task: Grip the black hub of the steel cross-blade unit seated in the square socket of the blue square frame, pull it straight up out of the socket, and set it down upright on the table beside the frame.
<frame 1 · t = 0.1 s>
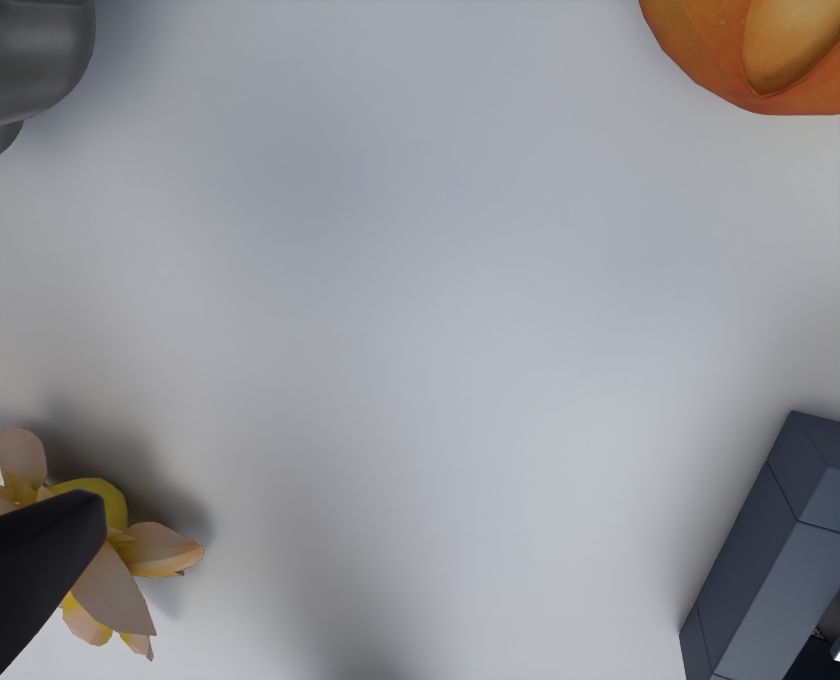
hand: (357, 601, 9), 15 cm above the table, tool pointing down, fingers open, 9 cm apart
decorative flower: (102, 505, 33), on the table
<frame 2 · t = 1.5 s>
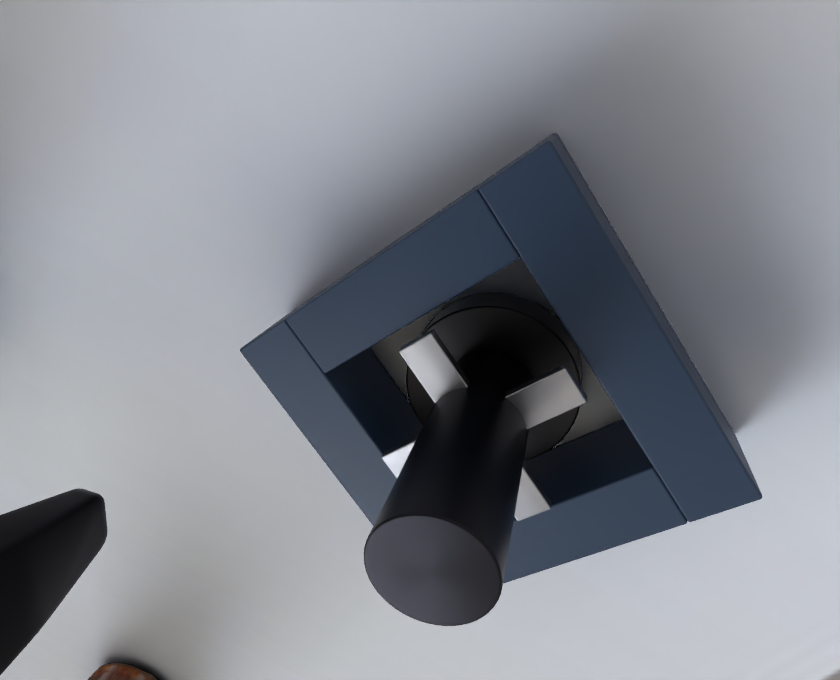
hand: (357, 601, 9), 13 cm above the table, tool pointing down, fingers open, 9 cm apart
blue square frame: (496, 371, 21), on the table
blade: (472, 444, 17), in the blue square frame
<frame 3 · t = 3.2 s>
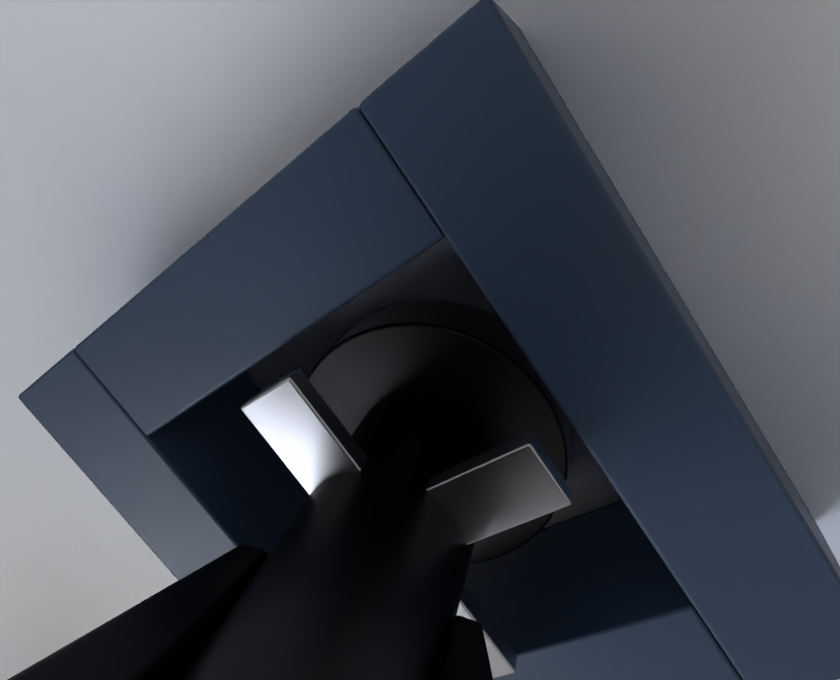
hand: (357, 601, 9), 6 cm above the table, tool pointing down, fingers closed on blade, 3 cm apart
blue square frame: (439, 420, 14), on the table
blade: (368, 575, 9), in the blue square frame, touching gripper
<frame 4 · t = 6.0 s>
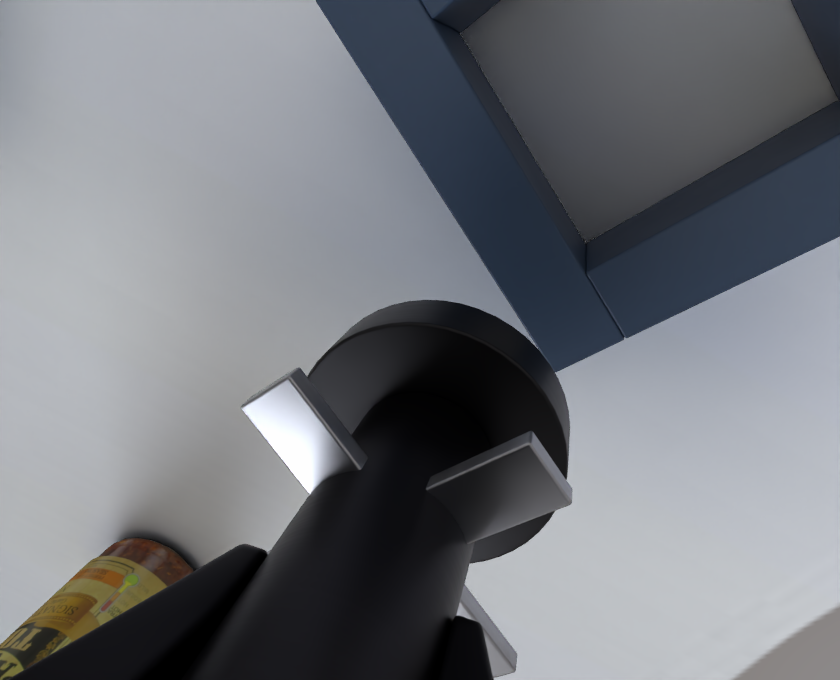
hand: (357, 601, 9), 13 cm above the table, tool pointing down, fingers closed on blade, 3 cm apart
blue square frame: (638, 65, 16), on the table
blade: (368, 575, 9), point 12 cm above the table, touching gripper
sauce bottle: (160, 575, 31), on the table
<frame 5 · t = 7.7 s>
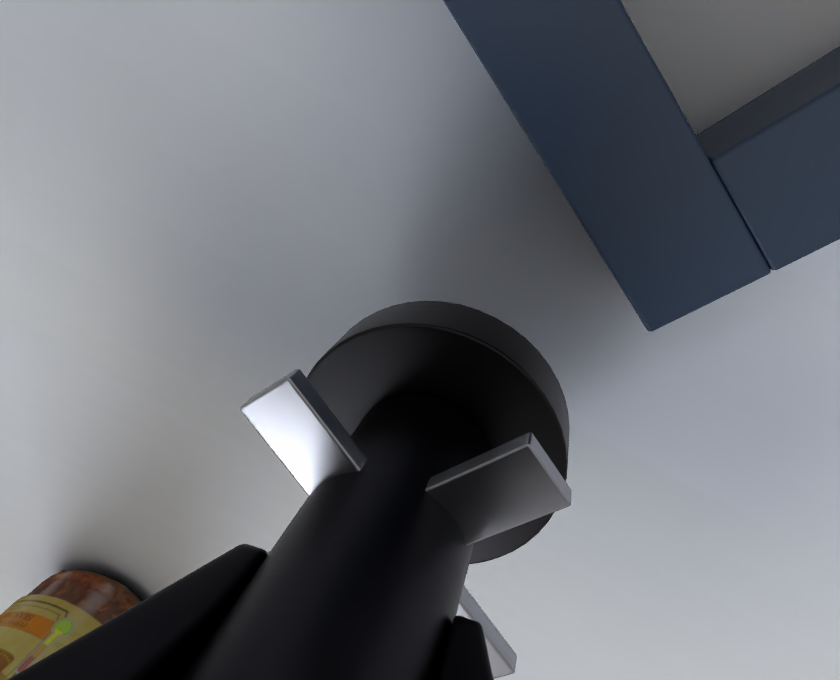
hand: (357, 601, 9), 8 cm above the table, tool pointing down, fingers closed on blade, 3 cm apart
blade: (367, 576, 9), point 8 cm above the table, touching gripper
sauce bottle: (111, 614, 25), on the table
when the fingers open (5 cm above the table, at t = 8.8 s): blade stays where it is, on the table.
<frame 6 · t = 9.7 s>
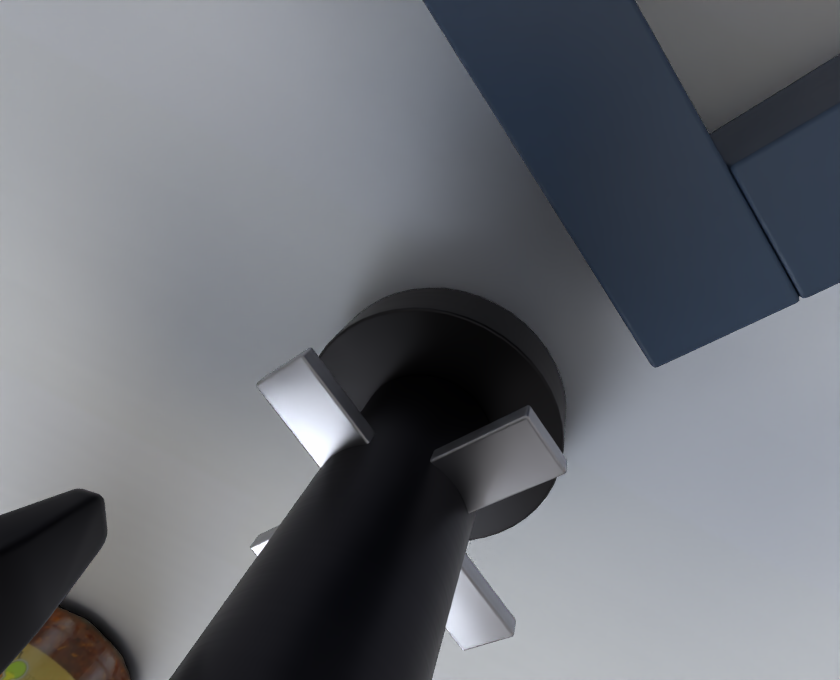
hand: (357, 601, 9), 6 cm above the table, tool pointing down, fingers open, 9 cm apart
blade: (376, 541, 10), on the table
sauce bottle: (75, 648, 23), on the table
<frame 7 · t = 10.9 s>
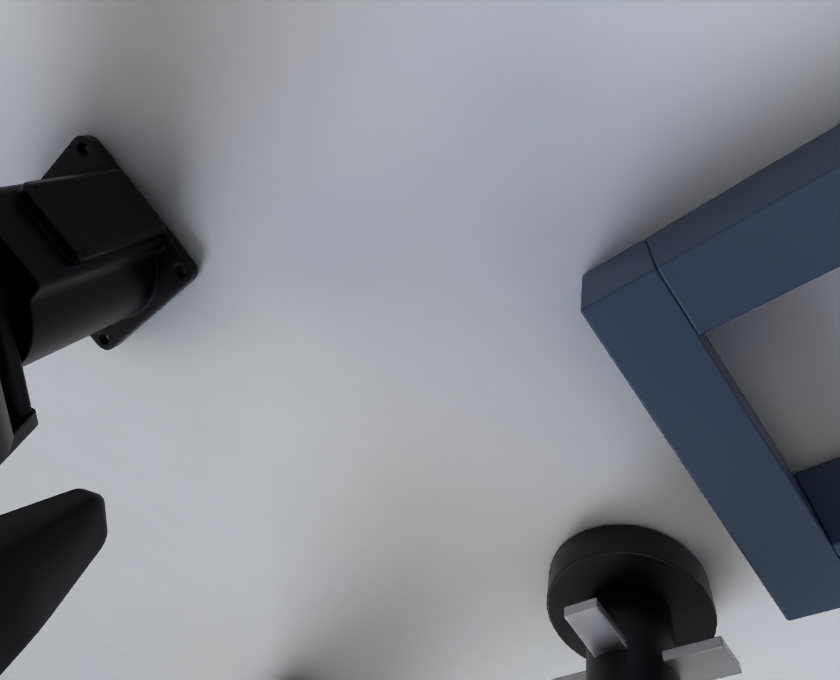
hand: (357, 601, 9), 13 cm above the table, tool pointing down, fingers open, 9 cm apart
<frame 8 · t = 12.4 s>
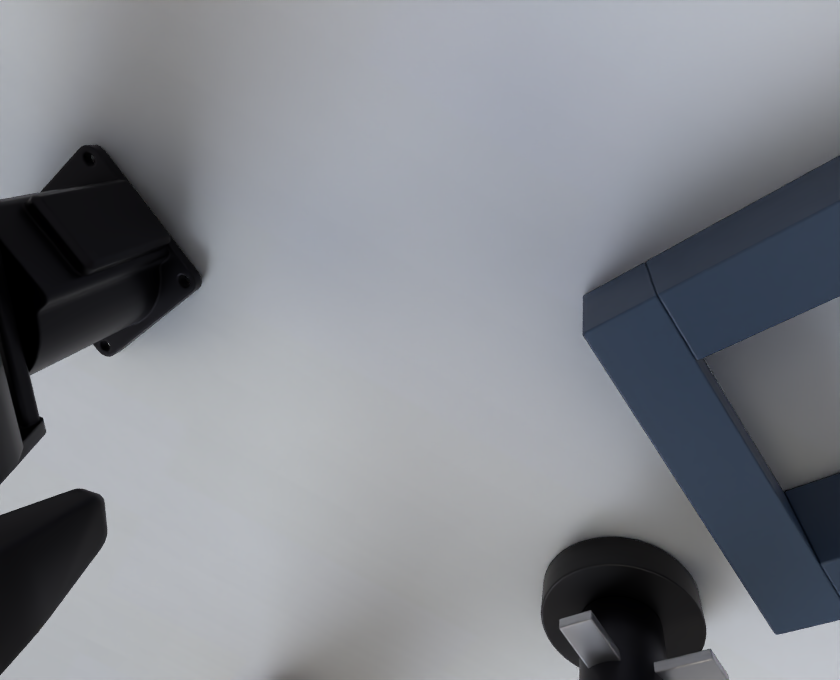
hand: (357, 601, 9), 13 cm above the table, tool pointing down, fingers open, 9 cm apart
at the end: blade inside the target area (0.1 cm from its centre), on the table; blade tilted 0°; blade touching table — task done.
